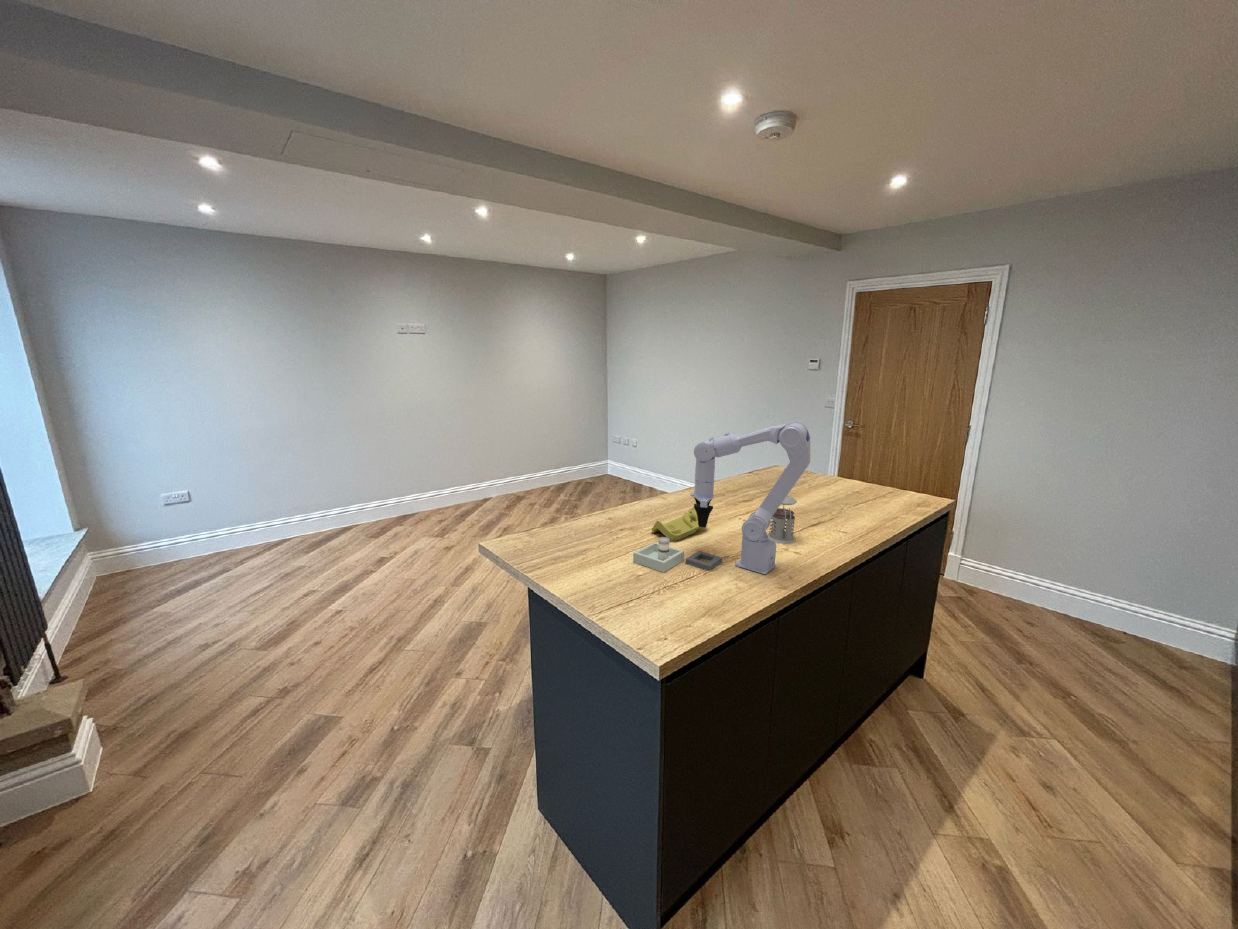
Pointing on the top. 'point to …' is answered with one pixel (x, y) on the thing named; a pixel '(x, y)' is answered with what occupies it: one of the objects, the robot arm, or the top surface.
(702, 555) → the gray square frame
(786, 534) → the french press
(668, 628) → the top surface
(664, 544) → the cylinder
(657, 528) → the plastic component
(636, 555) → the parts tray
